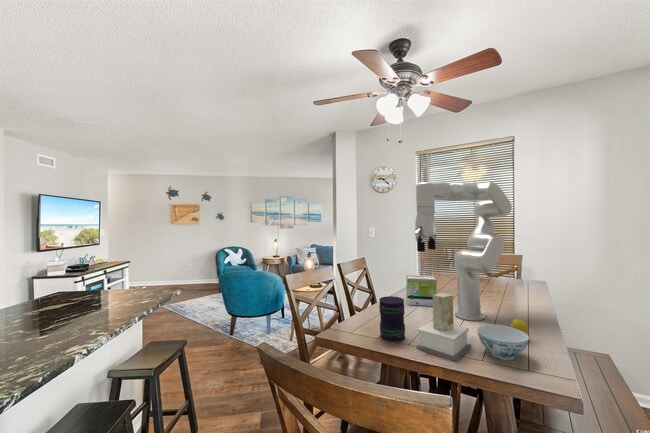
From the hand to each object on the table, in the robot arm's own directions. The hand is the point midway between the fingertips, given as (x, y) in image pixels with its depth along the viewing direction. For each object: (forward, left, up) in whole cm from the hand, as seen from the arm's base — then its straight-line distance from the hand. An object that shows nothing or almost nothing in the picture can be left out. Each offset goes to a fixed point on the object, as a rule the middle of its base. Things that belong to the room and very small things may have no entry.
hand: (426, 250), depth 125 cm
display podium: (+15, +13, -33) cm, 39 cm away
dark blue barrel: (+19, -6, -34) cm, 39 cm away
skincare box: (+14, +13, -26) cm, 33 cm away
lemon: (-11, +31, -34) cm, 47 cm away
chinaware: (+7, +30, -34) cm, 45 cm away
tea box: (-30, -19, -34) cm, 49 cm away
